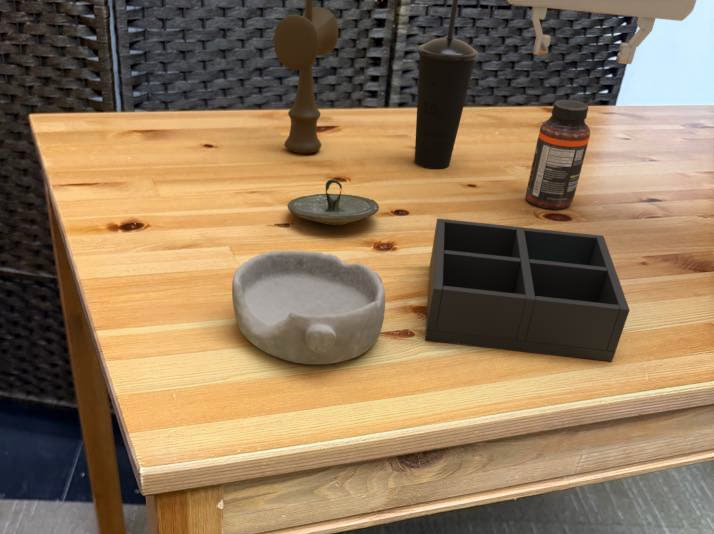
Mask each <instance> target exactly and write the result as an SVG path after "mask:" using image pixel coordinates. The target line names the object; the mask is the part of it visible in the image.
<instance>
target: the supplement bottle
mask: <svg viewBox="0 0 714 534" xmlns="http://www.w3.org/2000/svg"><path fill="white" fill-rule="evenodd" d="M588 112H589V106H588V104H586V103H584V102H582V101H578V100H572V99H558V100H556V101H554V102H553V107H552V110H551V116H550V117H549V118H548V119H546V120H545V121H543V123H542V124H541V126H540V128H539V132H538V137H537V142H536V145H535V150H534V154H533V159H532V164H531V169H530V173H529V177H528V182H527V187H526V191H525V198H526V200H527V201H528V202H529V203H531V204H532V205H534V206H537V207H539V208H542V209H550V210H559V209H565V208H567V207H569V206H571V205H572V204H573V201H574V198H575V194H576V191H577V188H578V184H579V179H580V177H581V172H582V168H583V164H584V160H585V157H586V153H587V149H588V146H589V141H590V137H591V129H590V126H588V125H587V124H586V121H585V120H586V119H587V117H588Z"/></svg>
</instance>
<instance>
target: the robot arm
mask: <svg viewBox="0 0 714 534" xmlns="http://www.w3.org/2000/svg"><path fill="white" fill-rule="evenodd" d="M506 1H507V3H508V4H510V5H514V6H525V7H532V8H531V12H530V17H531V21H532V25H533V28H534V33H535V35H536V36H535V40H534V45H533V52H532V53H533V55H536V56H548V53H549V48H548V47H549V46H550V44H551V39H552V38H551V36H550V34H544V33H543V28H542V25H541V20H546V15H547V11H548V9H555V10H566V11H574V12H575V11H577V12H586V13H595V14H607V15H617V16H627V17H635V18H636V17H637V21H636V26H637V27H638V28H639V29H638V30H637V31H636V32H635V33H634V35H633V36H632V37H631V38H630V40H629V41H628V42H620V45H619V47H618V50H619V52H618V53H617V56H616V62H617V64H623V65H624V64H625V65H632V63H633V60H634V58H635V53H636V50H637V48H638V47H639V46H640V45H641V44H642V43H643V42H644V40H645V39H646V38H647V37H648V36H649V35H650V33H652V31H653V28H654V25H655V22H656V19H658V20H668V21H678V22H682V21H685V19H686V18H688V16H689V15H691V14H692V13H693V11H694V9H695V6H696V3H697V0H506Z"/></svg>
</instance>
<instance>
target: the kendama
mask: <svg viewBox="0 0 714 534" xmlns="http://www.w3.org/2000/svg"><path fill="white" fill-rule="evenodd" d="M339 34H340V33H339V23H338V21H337V19H336V15H335V14H334V13H332V12H331V11H330V10H329V9H327V8H324V7H321V6H315V7H314V0H305V10H304V12H303V14H302V15H299V14H290V15H289V14H288V15H286V16H285V17H283V18H282V19H280V20H279V21H278V23H277V25H276V27H275V29H274V35H273V49H274V53H275V55H276V57H277V60H278V62H279V63H281V64H282V65H283V66H284V67H286V68H287V69H290V70H293V71H299V74H298V82H297V87H296V93H295V98H294V101H293V105H292V106H291V108H290V109H289V110H288V112H287V114H288V117H289V118H290V129H289V134H288V137H287V138H286V140H285V141H284V147H285V148H286V149H287V150H289V151H291V152H293V153H298V154H312V153H315V152H317V151H319V150H320V149H321V148H322V143H321V141H320V139H319V137H318V133H317V132H318V131H317V130H318V129H317V126H318V120H319V119H320V117H321V112H320V110H319V109H318V107H317V103H316V99H315V97H316V96H315V88H314V87H315V86H314V73H313V64H314V63H315V61H316V59H317V58H318V56H326V55H328V54H330V53H332V52H333V50H334V49H335V47H336V46H337V44H338V39H339Z"/></svg>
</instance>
